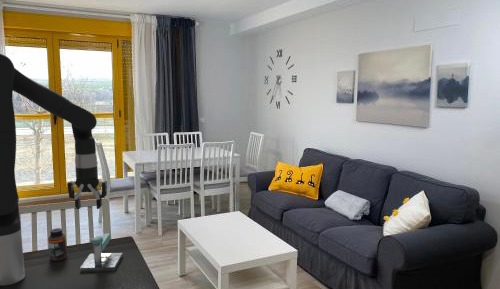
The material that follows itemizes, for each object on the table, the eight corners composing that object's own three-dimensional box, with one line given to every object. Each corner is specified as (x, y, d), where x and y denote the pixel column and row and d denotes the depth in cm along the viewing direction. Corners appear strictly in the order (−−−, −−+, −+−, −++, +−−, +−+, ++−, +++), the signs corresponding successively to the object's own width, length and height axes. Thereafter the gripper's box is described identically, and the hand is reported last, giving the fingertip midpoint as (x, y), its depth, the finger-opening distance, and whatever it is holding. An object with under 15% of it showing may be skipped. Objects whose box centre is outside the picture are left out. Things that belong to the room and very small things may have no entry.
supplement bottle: (62, 253, 156) (60, 225, 154) (69, 257, 152) (68, 229, 151) (46, 258, 152) (44, 230, 150) (54, 263, 148) (52, 234, 146)
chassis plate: (79, 272, 141) (78, 245, 140) (90, 257, 153) (89, 232, 151) (114, 271, 142) (113, 244, 141) (122, 256, 154) (121, 231, 152)
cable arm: (90, 256, 140) (89, 241, 139) (102, 239, 155) (101, 226, 154) (101, 256, 140) (101, 241, 140) (112, 239, 155) (112, 226, 154)
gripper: (62, 167, 143) (65, 212, 145) (103, 167, 144) (105, 211, 146) (70, 163, 150) (72, 205, 153) (109, 163, 151) (111, 205, 154)
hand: (88, 208), depth 149 cm, fingers open, 6 cm apart
